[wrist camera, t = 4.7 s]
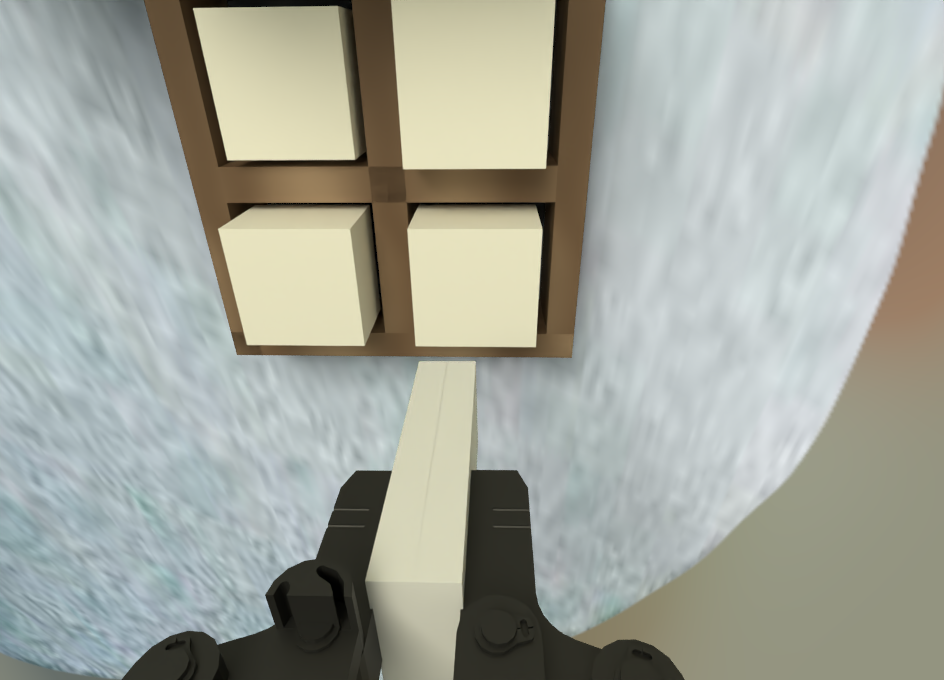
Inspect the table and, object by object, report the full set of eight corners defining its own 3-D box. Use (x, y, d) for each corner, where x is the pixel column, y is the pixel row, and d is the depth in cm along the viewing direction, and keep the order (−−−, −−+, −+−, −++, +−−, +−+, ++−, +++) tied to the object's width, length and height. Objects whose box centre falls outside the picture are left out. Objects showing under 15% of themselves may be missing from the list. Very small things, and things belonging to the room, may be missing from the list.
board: (267, 318, 32) (236, 354, 28) (187, -41, 23) (128, -59, 20) (561, 320, 31) (571, 357, 28) (591, -48, 23) (611, -69, 19)
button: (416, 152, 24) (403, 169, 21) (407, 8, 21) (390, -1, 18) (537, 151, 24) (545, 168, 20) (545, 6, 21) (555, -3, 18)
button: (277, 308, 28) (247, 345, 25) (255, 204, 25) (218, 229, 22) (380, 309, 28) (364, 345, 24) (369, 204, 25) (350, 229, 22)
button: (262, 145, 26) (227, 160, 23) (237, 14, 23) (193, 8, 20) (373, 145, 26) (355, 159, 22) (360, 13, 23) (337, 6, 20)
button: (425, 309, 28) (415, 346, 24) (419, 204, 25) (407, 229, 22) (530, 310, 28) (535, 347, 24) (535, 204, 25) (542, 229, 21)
